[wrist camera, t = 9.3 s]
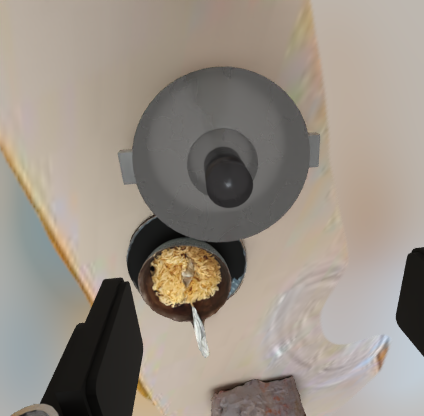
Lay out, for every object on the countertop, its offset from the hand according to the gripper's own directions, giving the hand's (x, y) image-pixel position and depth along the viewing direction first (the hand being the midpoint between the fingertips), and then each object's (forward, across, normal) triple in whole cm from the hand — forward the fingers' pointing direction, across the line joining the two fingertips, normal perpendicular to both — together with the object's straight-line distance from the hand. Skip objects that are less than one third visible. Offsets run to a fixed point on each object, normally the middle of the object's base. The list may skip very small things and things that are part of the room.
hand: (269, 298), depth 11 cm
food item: (+26, -3, +40) cm, 48 cm away
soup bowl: (+26, +5, +15) cm, 31 cm away
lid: (+19, 0, 0) cm, 19 cm away
